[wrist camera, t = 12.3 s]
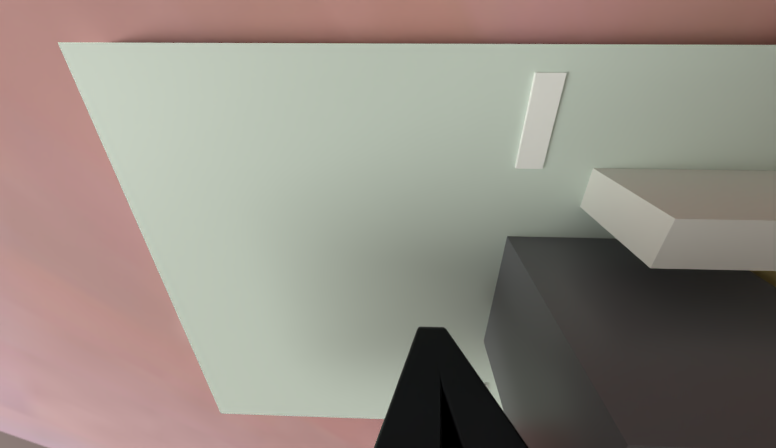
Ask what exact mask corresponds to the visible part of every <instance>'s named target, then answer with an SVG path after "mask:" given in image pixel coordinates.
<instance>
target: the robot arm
mask: <svg viewBox="0 0 776 448" xmlns="http://www.w3.org/2000/svg"><path fill="white" fill-rule="evenodd" d="M374 448H529V447H528V446H527V444H526V443H525V442H524V440H523V439H522V437H521V436H520V434H519V433H518V431H517V430H516V429H515V427H514V426H513V424H512V423H511V421H510V420H509V418H508V417H507V416H506V414H505V413H504V411H503V410H502V408H501V407H500V406H499V404H498V403H497V401H496V400H495V398H494V397H493V395H492V394H491V393H490V391H489V390H488V388H487V387H486V385H485V384H484V382H483V381H482V380H481V378H480V377H479V375H478V374H477V372H476V371H475V370H474V368H473V367H472V365H471V364H470V362H469V361H468V359H467V358H466V357H465V355H464V354H463V352H462V351H461V349H460V348H459V346H458V345H457V344H456V342H455V341H454V339H453V338H452V336H451V335H450V334H449V332H448V331H447V329H446V328H444V327H422V326H420V327H418V328H417V331H416V334H415V336H414V339H413V342H412V345H411V347H410V350H409V353H408V356H407V358H406V361H405V364H404V367H403V369H402V372H401V375H400V378H399V380H398V383H397V386H396V389H395V391H394V394H393V397H392V400H391V402H390V405H389V408H388V411H387V413H386V416H385V419H384V422H383V424H382V427H381V430H380V433H379V435H378V438H377V441H376V444H375V446H374Z"/></svg>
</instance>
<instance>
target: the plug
mask: <svg viewBox="0 0 776 448" xmlns="http://www.w3.org/2000/svg"><path fill="white" fill-rule="evenodd" d="M484 345H485V348H486V352H487V355H488V358H489V362H490V365H491V369H492V372H493V376H494V379H495V383H496V386H497V390H498V393H499V396H500V400H501V403H502V407H503V410H504V413H505V414H506V416H507V417H508V418H509V420H510V421H511V423H512V424H513V426H514V427H515V429H516V430H517V431H518V433H519V434H520V436H521V437H522V439H523V440H524V442H525V443H526V444H527V446H528V447H529V448H776V287H774V286H773V285H771V284H770V283H768V282H766V281H765V280H763V279H762V278H760V277H759V276H757V275H755V274H754V273H752V272H751V271H749V270H707V269H661V268H649V267H648V266H647V265H646V264H645V263H644V262H643V261H641V260H640V259H639V258H638V257H637V256H636V255H635V254H633V253H632V252H631V251H630V250H629V249H628V248H627V247H625V246H624V245H623V244H622V243H621V242H620V241H619V240H617V239H612V238H566V237H521V236H507V239H506V243H505V248H504V252H503V257H502V261H501V266H500V270H499V275H498V279H497V284H496V288H495V293H494V297H493V301H492V306H491V310H490V315H489V319H488V324H487V328H486V333H485V337H484Z"/></svg>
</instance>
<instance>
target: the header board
mask: <svg viewBox="0 0 776 448" xmlns="http://www.w3.org/2000/svg"><path fill="white" fill-rule="evenodd" d="M58 44H59V46H60V49H61V51H62V53H63V55H64V58H65V60H66V62H67V64H68V67H69V69H70V71H71V74H72V76H73V78H74V80H75V83H76V85H77V87H78V90H79V92H80V94H81V96H82V99H83V101H84V103H85V105H86V108H87V110H88V112H89V115H90V117H91V119H92V121H93V124H94V126H95V128H96V130H97V133H98V135H99V137H100V140H101V142H102V144H103V146H104V149H105V151H106V153H107V155H108V158H109V160H110V162H111V165H112V167H113V169H114V171H115V174H116V176H117V178H118V181H119V183H120V185H121V187H122V190H123V192H124V194H125V196H126V199H127V201H128V203H129V206H130V208H131V210H132V212H133V215H134V217H135V219H136V221H137V224H138V226H139V228H140V231H141V233H142V235H143V237H144V240H145V242H146V244H147V246H148V249H149V251H150V253H151V256H152V258H153V260H154V262H155V265H156V267H157V269H158V272H159V274H160V276H161V278H162V281H163V283H164V285H165V287H166V290H167V292H168V294H169V297H170V299H171V301H172V303H173V306H174V308H175V310H176V312H177V315H178V317H179V319H180V322H181V324H182V326H183V328H184V331H185V333H186V335H187V337H188V340H189V342H190V344H191V347H192V349H193V351H194V353H195V356H196V358H197V360H198V362H199V365H200V367H201V369H202V372H203V374H204V376H205V378H206V381H207V383H208V385H209V388H210V390H211V392H212V394H213V397H214V399H215V401H216V403H217V406H218V408H219V410H220V413H223V414H252V415H281V416H310V417H339V418H368V419H385V416H386V413H387V411H388V408H389V405H390V402H391V400H392V397H393V394H394V391H395V389H396V386H397V383H398V380H399V378H400V375H401V372H402V369H403V367H404V364H405V361H406V358H407V356H408V353H409V350H410V347H411V345H412V342H413V339H414V336H415V334H416V331H417V328H418V327H420V326H422V327H444V328H446V329H447V331H448V332H449V334H450V335H451V336H452V338H453V339H454V341H455V342H456V344H457V345H458V346H459V348H460V349H461V351H462V352H463V354H464V355H465V357H466V358H467V359H468V361H469V362H470V364H471V365H472V367H473V368H474V370H475V371H476V372H477V374H478V375H479V377H480V378H481V380H482V381H483V382H484V384H485V385H486V387H487V388H488V390H489V391H490V393H491V394H492V395H493V397H494V398H495V400H496V401H497V403H498V404H499V406H500V407H501V408H502V410H503V407H502V403H501V400H500V396H499V393H498V390H497V386H496V383H495V379H494V376H493V372H492V369H491V365H490V362H489V358H488V355H487V352H486V348H485V345H484V337H485V333H486V328H487V324H488V319H489V315H490V310H491V306H492V301H493V297H494V293H495V288H496V284H497V279H498V275H499V270H500V266H501V261H502V257H503V252H504V248H505V243H506V239H507V236H521V237H566V238H612V239H617V240H619V241H620V242H621V243H622V244H623V245H624V246H625V247H627V248H628V249H629V250H630V251H631V252H632V253H633V254H635V255H636V256H637V257H638V258H639V259H640V260H641V261H643V262H644V263H645V264H646V265H647V266H648V267H649V268H661V269H707V270H749V271H751V272H752V273H754V274H755V275H757V276H759V277H760V278H762V279H763V280H765V281H766V282H768V283H770V284H771V285H773V286H774V287H776V45H657V44H364V43H72V42H58ZM503 411H504V410H503Z"/></svg>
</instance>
